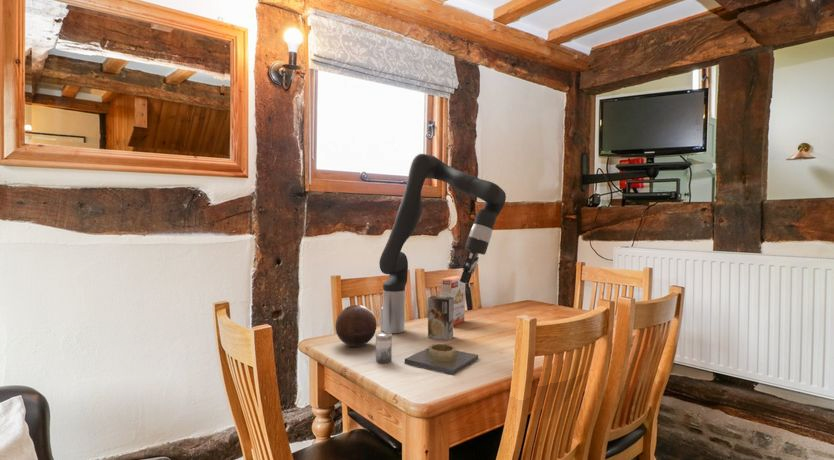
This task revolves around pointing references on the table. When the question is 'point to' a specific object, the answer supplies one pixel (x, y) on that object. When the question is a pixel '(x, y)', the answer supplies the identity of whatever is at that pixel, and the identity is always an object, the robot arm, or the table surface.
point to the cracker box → (455, 296)
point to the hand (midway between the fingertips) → (464, 282)
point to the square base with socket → (442, 359)
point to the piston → (383, 347)
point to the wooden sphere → (355, 325)
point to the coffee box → (440, 317)
